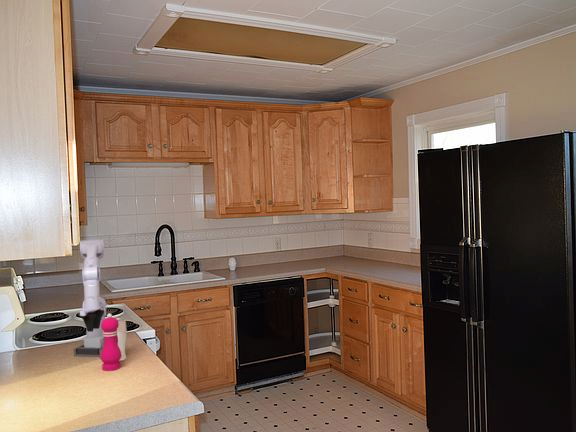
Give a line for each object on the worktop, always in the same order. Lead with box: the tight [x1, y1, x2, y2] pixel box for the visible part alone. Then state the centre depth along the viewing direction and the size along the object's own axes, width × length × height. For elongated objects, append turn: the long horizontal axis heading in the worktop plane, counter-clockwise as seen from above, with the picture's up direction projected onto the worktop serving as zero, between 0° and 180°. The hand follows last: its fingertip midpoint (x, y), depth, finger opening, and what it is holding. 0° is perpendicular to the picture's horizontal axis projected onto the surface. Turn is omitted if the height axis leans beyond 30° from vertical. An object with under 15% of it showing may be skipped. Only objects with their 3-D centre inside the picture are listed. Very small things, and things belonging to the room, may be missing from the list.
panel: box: [83, 336, 104, 348], centre depth 201 cm, size 2×7×6 cm, turn 80°
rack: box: [73, 343, 103, 358], centre depth 201 cm, size 9×12×3 cm
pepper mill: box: [99, 312, 122, 372], centre depth 182 cm, size 7×7×20 cm
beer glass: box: [116, 318, 128, 362], centre depth 192 cm, size 7×7×15 cm
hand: (93, 329), depth 201 cm, fingers open, 4 cm apart
